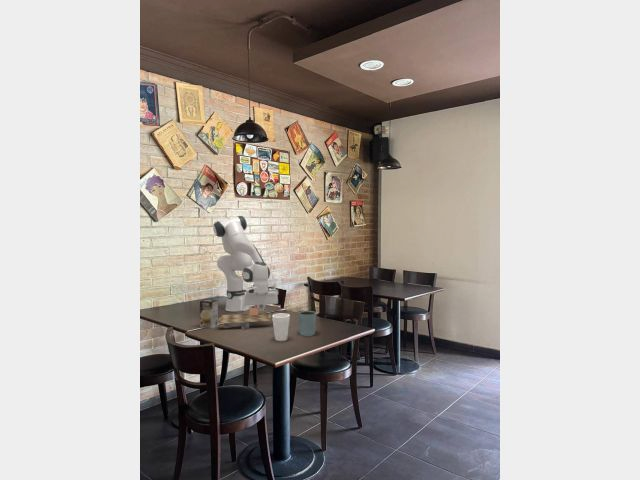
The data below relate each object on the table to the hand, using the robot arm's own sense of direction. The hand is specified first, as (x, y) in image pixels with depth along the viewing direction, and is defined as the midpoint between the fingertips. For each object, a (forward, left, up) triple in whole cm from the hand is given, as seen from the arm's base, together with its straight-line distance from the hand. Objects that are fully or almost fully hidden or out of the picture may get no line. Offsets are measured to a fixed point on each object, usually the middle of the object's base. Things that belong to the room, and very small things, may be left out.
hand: (261, 311), depth 237 cm
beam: (+7, -7, -9) cm, 13 cm away
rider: (+3, -3, -2) cm, 5 cm away
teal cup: (-2, +32, -9) cm, 34 cm away
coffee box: (+17, -27, -9) cm, 33 cm away
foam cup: (+14, +26, -9) cm, 31 cm away
